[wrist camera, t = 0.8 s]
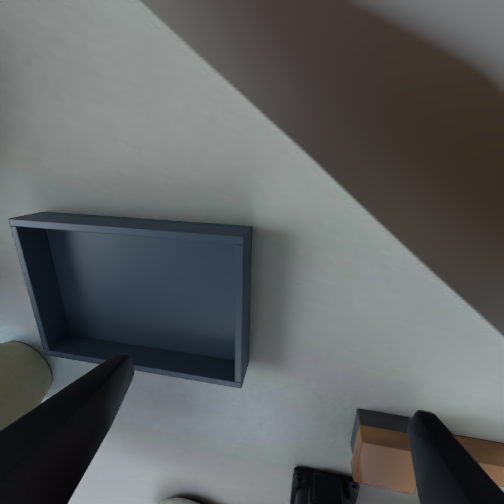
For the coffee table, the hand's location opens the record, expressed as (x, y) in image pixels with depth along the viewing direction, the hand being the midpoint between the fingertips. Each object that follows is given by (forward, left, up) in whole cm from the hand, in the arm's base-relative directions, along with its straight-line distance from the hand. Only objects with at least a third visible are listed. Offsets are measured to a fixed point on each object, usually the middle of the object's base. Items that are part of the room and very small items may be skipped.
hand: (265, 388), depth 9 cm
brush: (-17, -13, -14) cm, 26 cm away
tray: (-5, +13, -14) cm, 19 cm away
